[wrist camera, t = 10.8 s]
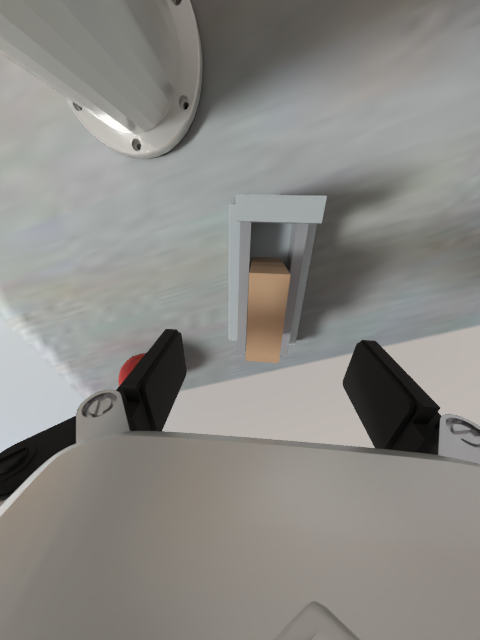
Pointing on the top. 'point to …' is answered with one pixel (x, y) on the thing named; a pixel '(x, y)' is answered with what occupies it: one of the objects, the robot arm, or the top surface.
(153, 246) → the top surface
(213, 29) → the top surface
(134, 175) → the top surface
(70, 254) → the top surface
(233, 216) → the track
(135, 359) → the onion
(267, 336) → the door slab
